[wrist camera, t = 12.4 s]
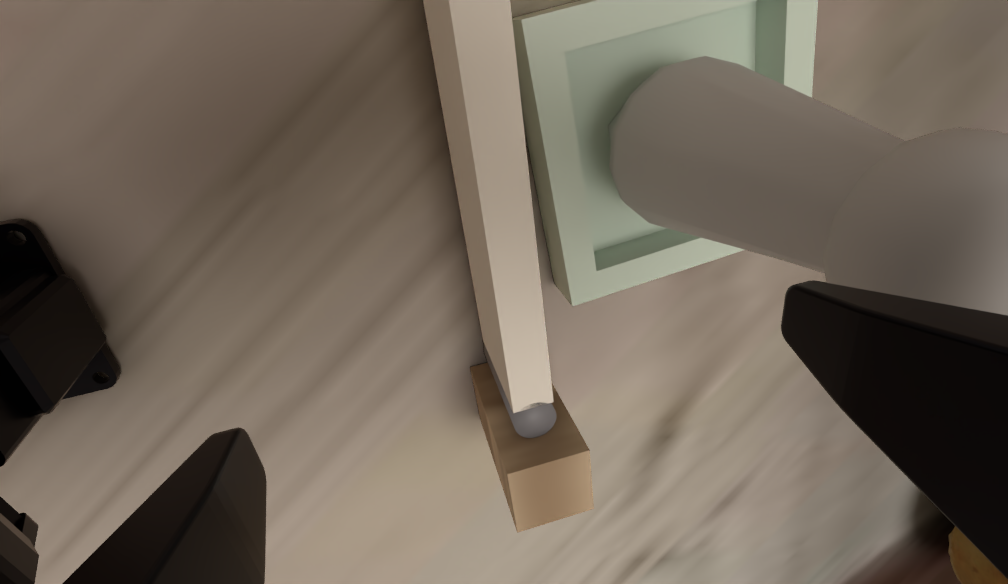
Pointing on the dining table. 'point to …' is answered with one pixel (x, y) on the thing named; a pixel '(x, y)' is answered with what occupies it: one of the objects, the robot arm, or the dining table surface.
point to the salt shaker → (816, 184)
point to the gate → (495, 197)
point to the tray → (599, 97)
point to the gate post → (535, 459)
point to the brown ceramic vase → (971, 562)
